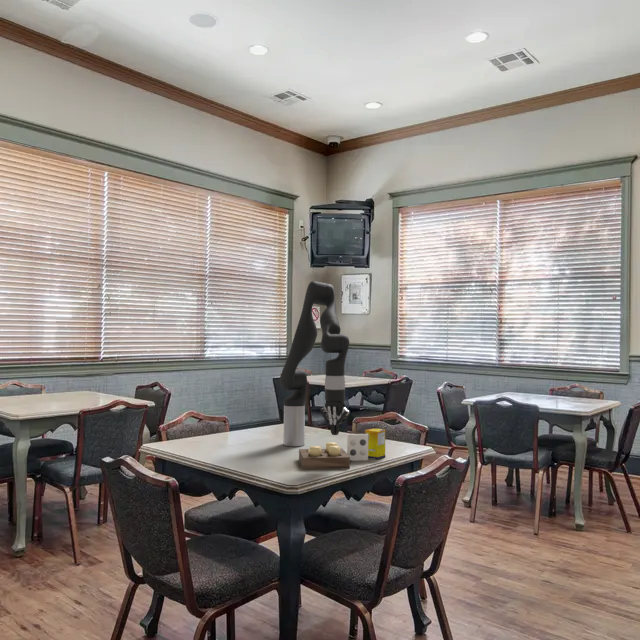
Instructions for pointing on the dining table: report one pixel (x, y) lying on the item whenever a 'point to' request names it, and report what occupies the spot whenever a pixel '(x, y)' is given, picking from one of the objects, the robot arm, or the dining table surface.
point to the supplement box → (376, 443)
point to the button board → (323, 460)
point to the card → (357, 446)
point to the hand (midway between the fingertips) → (334, 434)
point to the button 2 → (315, 451)
